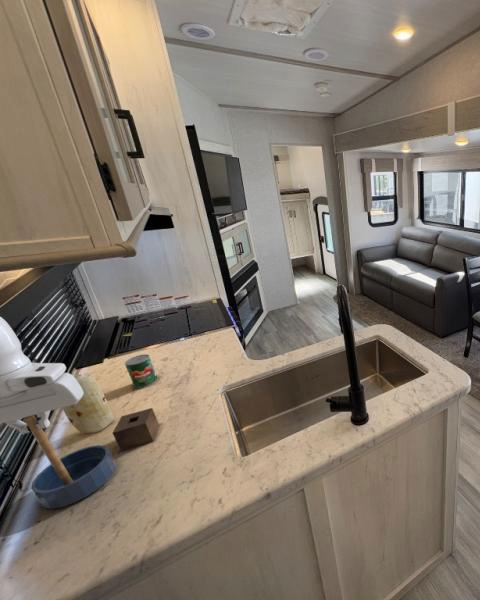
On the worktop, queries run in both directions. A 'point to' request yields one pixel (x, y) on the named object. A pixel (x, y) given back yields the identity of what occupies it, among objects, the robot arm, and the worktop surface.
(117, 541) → the worktop surface
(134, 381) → the canned tomato
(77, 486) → the bowl
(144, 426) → the holder
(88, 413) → the food model
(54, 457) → the stick
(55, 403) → the robot arm
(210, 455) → the worktop surface
